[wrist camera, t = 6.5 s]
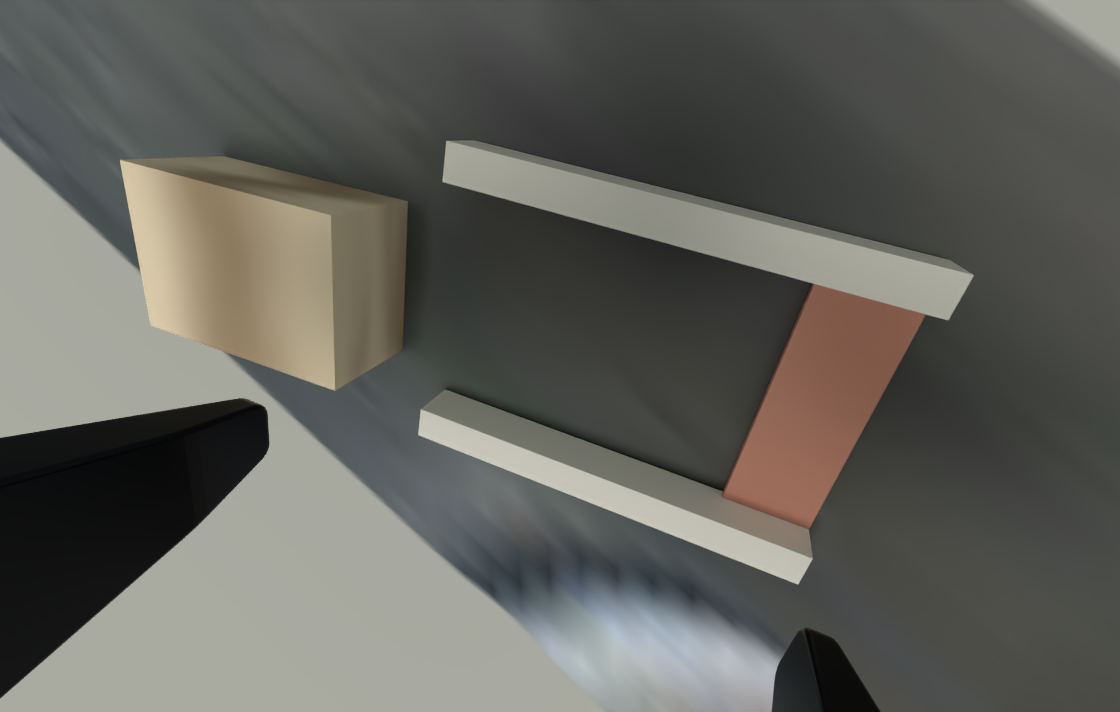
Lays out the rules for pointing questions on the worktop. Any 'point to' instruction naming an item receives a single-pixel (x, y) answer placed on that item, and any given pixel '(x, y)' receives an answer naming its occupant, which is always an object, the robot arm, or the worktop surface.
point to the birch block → (270, 264)
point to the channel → (793, 392)
